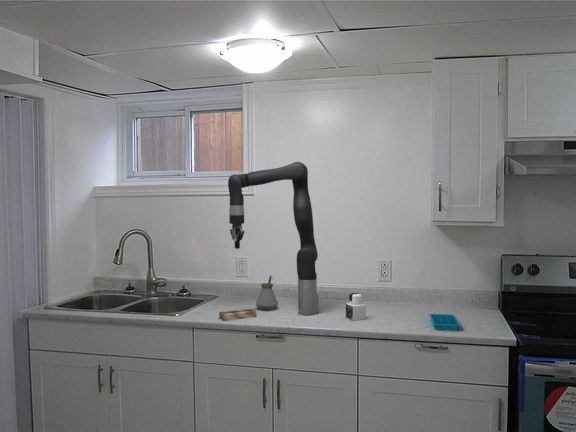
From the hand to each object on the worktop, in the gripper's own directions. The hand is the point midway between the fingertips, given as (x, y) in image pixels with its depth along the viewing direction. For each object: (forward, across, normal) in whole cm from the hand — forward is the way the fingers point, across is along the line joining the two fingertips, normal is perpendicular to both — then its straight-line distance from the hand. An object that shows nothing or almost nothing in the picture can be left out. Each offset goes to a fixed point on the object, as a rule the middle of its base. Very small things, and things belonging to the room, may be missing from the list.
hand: (237, 248), depth 264 cm
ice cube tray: (+33, -73, -69) cm, 106 cm away
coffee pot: (+32, +1, -18) cm, 37 cm away
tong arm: (+32, -11, +5) cm, 34 cm away
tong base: (+32, -14, +5) cm, 35 cm away
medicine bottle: (+32, -43, -42) cm, 68 cm away
